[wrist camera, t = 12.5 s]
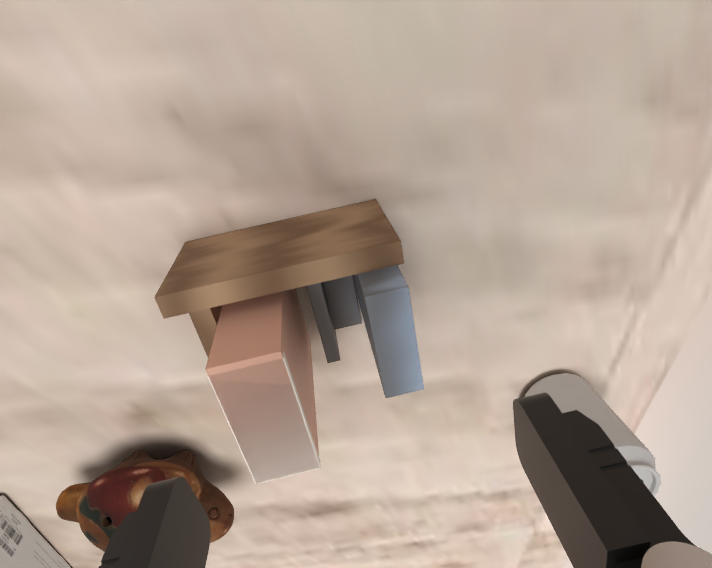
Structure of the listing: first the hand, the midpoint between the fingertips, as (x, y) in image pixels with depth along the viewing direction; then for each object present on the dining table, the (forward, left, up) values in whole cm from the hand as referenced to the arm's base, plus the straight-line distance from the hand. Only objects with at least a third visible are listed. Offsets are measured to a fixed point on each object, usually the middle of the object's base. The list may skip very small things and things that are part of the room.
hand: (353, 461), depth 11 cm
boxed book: (+5, +9, -26) cm, 28 cm away
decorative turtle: (+21, +24, -26) cm, 41 cm away
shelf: (+3, +8, -26) cm, 28 cm away
